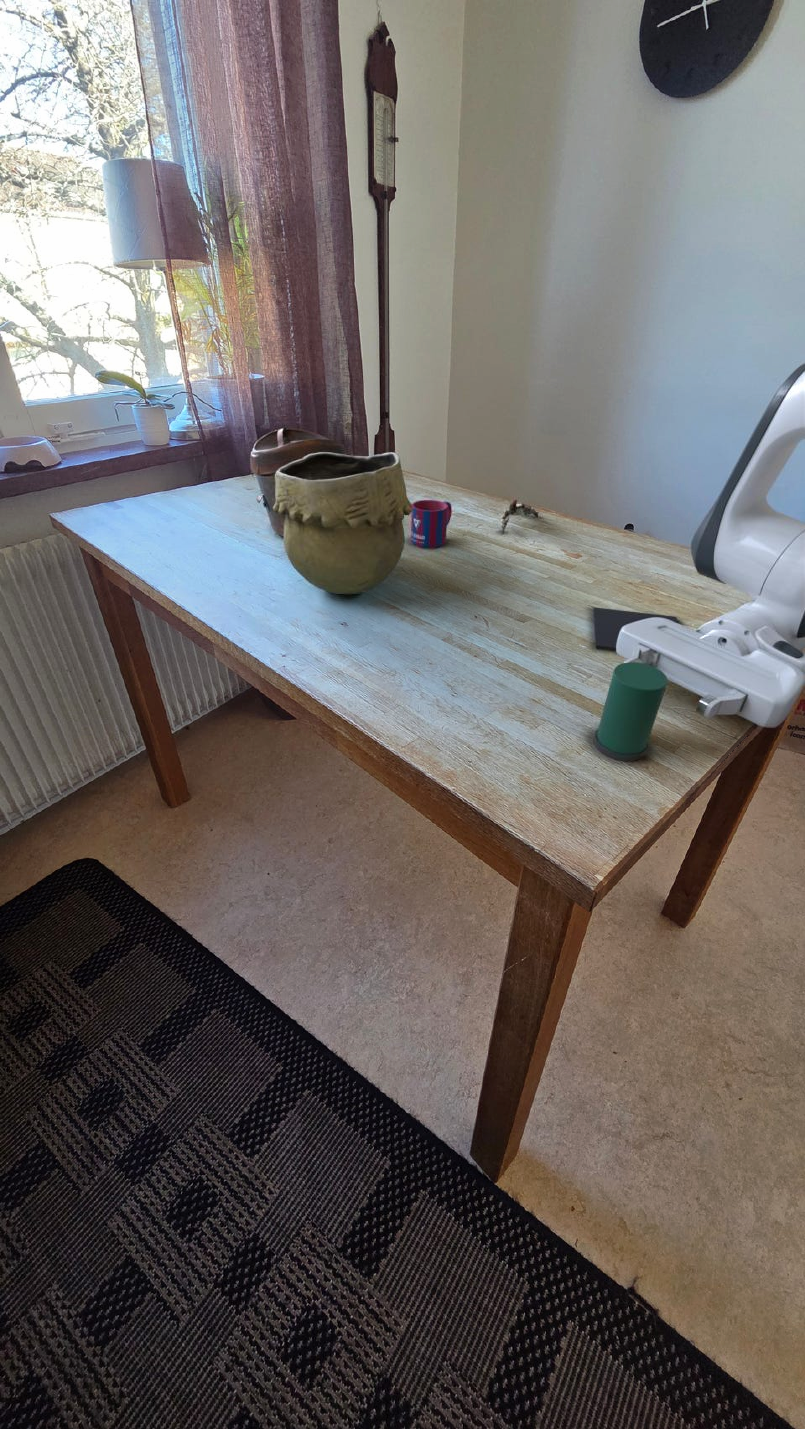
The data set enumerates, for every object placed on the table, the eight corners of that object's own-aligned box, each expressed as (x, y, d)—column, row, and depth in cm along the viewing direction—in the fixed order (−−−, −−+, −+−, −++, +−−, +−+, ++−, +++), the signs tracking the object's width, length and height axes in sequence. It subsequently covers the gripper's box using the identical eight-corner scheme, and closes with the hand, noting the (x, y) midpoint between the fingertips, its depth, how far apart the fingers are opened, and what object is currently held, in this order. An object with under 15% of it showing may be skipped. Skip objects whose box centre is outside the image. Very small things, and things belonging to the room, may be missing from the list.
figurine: (518, 531, 129) (497, 534, 116) (509, 515, 129) (487, 516, 116) (542, 515, 126) (523, 516, 113) (533, 499, 126) (513, 497, 113)
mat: (675, 619, 90) (676, 616, 90) (687, 660, 81) (688, 656, 80) (592, 610, 92) (593, 607, 92) (595, 648, 83) (596, 645, 82)
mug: (403, 541, 114) (403, 504, 110) (439, 529, 120) (441, 494, 116) (428, 550, 110) (430, 513, 106) (464, 538, 116) (467, 502, 112)
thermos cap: (643, 733, 68) (666, 664, 62) (649, 765, 63) (673, 694, 58) (592, 725, 68) (610, 657, 63) (594, 756, 64) (613, 686, 59)
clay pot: (251, 599, 93) (232, 463, 81) (325, 553, 108) (317, 433, 97) (370, 629, 86) (368, 485, 74) (430, 576, 101) (437, 450, 89)
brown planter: (289, 507, 129) (280, 415, 118) (370, 524, 121) (368, 427, 111) (233, 532, 116) (218, 432, 105) (320, 552, 109) (313, 446, 98)
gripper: (661, 597, 77) (592, 626, 70) (830, 665, 64) (765, 709, 57) (649, 640, 81) (582, 672, 74) (805, 713, 68) (741, 760, 61)
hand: (663, 689), depth 65 cm, fingers open, 8 cm apart
